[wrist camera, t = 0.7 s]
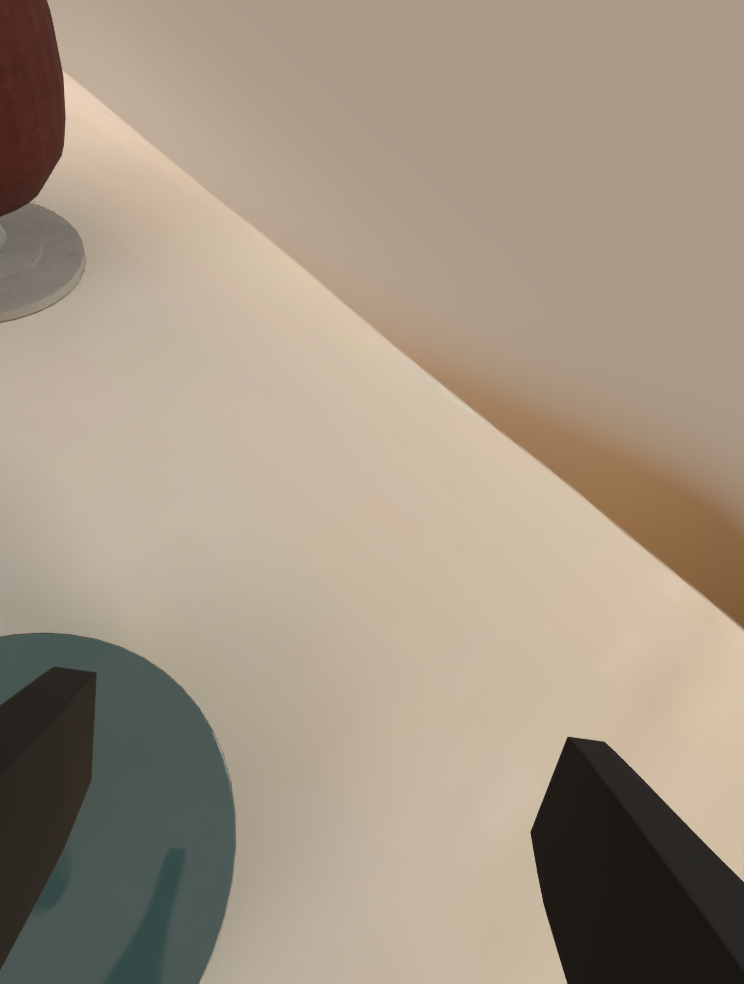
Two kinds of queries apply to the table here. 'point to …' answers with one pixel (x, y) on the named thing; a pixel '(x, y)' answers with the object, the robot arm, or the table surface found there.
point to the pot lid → (130, 830)
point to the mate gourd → (31, 164)
